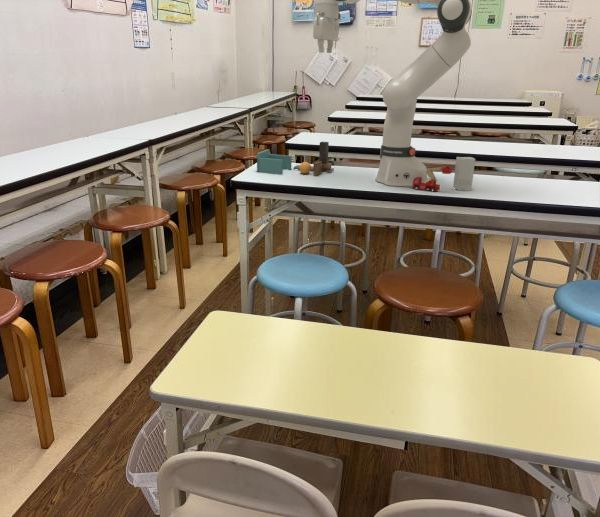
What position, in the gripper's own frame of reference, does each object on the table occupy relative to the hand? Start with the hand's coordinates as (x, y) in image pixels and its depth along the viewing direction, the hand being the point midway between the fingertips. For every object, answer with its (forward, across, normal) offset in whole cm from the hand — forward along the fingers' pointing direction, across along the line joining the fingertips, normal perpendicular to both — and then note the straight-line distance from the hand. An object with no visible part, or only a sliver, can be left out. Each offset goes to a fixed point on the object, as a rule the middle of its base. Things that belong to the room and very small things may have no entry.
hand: (325, 52), depth 198 cm
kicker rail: (+48, +6, +6) cm, 49 cm away
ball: (+45, -2, +7) cm, 46 cm away
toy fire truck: (+48, -10, -47) cm, 68 cm away
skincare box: (+48, -3, -58) cm, 75 cm away
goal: (+48, -2, +21) cm, 53 cm away
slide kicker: (+48, +2, +1) cm, 48 cm away
